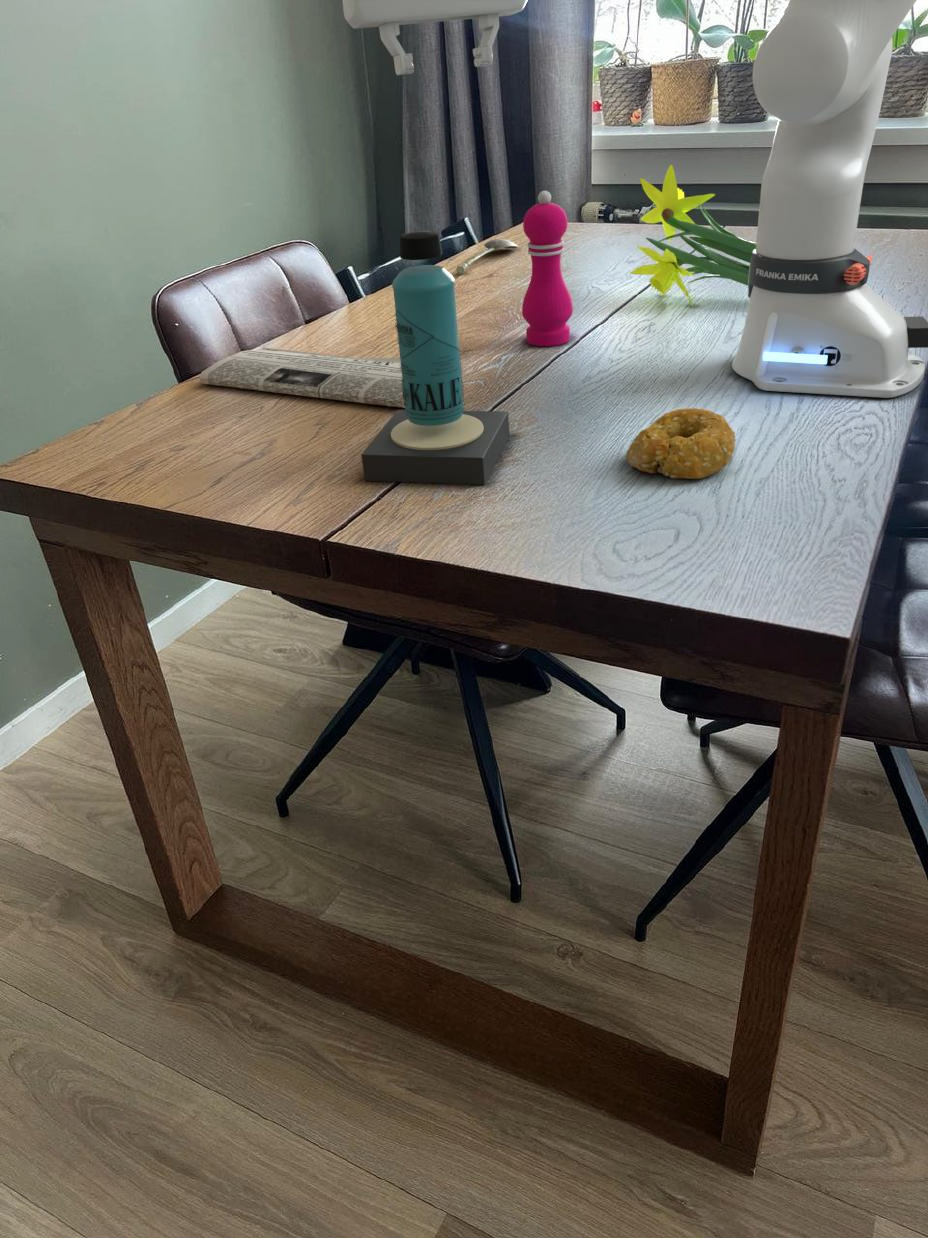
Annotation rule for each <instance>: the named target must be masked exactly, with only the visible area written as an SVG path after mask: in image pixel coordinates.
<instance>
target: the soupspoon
mask: <svg viewBox="0 0 928 1238" xmlns="http://www.w3.org/2000/svg"><path fill="white" fill-rule="evenodd" d="M483 247H485V248H486V249H484V250H483V251H481V252H480V253H478V254H477V255H475V256H474V257H472V258H471V259H470V260H468V261H465V262H464V263H463V264H461V265H457V266H456V268H455V271H456V272H457V274H459V275H460V276H461V275H462V276H463V275H464V274H465V272H466V269H467V268H468V267H469V266H470V265H471V264H472V263H474V262H476V261H478V259H480V258H482V257H483V256H485V255H487V254H490V253H491V252H494V251H497V250H501V249H508V250H510V249H517V248H519V246H518V244H516V243H515V242H513V241H511V240H509V239H505V238H494V239H490V240H489V241H486V242H485V243H484V244H483Z"/></svg>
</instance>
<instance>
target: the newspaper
mask: <svg viewBox="0 0 928 1238" xmlns="http://www.w3.org/2000/svg"><path fill="white" fill-rule="evenodd" d="M460 360H462V358H461V357H460ZM400 363H401V361H400V357H351V356H341V355H331V354H323V353H315V352H308V351H307V352H305V351H297V350H290V349H289V350H288V349H281V348H272V347H262V349H258V350H254V349H251V350H250V349H247V350H241V351H239V352H237V353H234V354H232V355H229V356H227V357H224V358H223V359H220V360H217V361H216V362H215V363H213V364H212V365H210V366H208V367H207V368H206V369H204V370H202V371H201V373H200V375H199V381H200V383H201V384H204V385H213V386H222V387H230V388H237V389H245V390H253V391H254V390H255V391H261V392H262V391H263V392H268V393H269V392H271V393H278V394H286V395H287V394H288V395H293V396H294V395H295V396H302V397H303V396H304V397H311V398H320V399H326V400H327V399H328V400H337V401H343V402H351V403H352V402H353V403H358V404H359V403H360V404H369V405H375V406H376V405H377V406H384V407H394V408H401V409H404V408H405V405H404V402H403V401H405V400H403V394H402V390H403V381H402V370H400V369H401V368H400V366H401V364H400ZM399 365H400V366H399ZM401 384H402V385H401ZM405 409H406V408H405Z"/></svg>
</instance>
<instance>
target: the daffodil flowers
mask: <svg viewBox="0 0 928 1238" xmlns="http://www.w3.org/2000/svg"><path fill="white" fill-rule="evenodd" d="M676 177H677V176H676V174H675V169H674V166H673V164H671V163H670V165H669V166H668V168H667V171H666V173H665V176H664V180H663V182H662V188H661V189H662V191H661V190H659V189H658V188H656V187H655V186H654V185H653V184H652V183H650V182H649V181H647V180H646V179H645V178H642V177H639V180H640V183H641V187H642V190H643V191H644V193H645V194H646V196H647V197H648V198H649V200H651V202H652V203H653V204H654V205H655V206H656V207H653V208H652V209H651V210H649V211H647V212H646V213H645V214H644V215H642V217H640V221H642V222H644V223H647V224H657V223H661V222H662V227H663V231H664V234H665V236H666V237H664V238H662V239H660V240H656V239H653V238H650V237H645V240H647V241H648V242H649V243H651V244H652V245H653V246H655V247H656V248H657V249H659V250H660V251H662V252H663V254H661V253H659V252H658V251H656V250H654V249H652V248H650V247H644V246H639V245H636V247H637V249H639V250H640V251H641V252H642V253H644V254H645V255H646V256H647V257H649V258H650V259H651V260H653V261H654V262H655V263H654V264H644V265H641V266H638V267H636V268H635V269H633V270H632V271H631V272H629V274H630V275H640V276H641V275H642V276H652V277H650V278H649V279H648V283H649V285H651V288H653V289H654V291H656V292H659V293H660V296H661V297H663V296H664V295H665V294H666V293H667V292H668V291H669V290H670V289H671V288H672V287H673V285H674V284H676V285H677V286H678V288H679V289H680V290H681V291H682V293H683V294H685V296H686V298H688V301H689V304H690V305H691V306H692V307H694V304H693V301H692V299H691V296H690V295H689V292H688V289H687V288H686V285H685V283H684V282H683V280H682V278H681V276H683V277H695V275H698V274H703V273H705V274H709V275H703V276H700V277H697V278H694V279H693V280H690V281H688V282H687V284H691V283H693V282H696V281H699V280H703V279H711V278H715V279H716V278H719V279H726V280H731V281H734V282H736V283H739V284H743V285H745V286H747V287H748V276H749V267H750V262H751V256H752V252H753V250H755V249H756V242H754V241H751V240H747V239H743V238H742V237H739V236H737V235H736V234H734V233H733V232H731V231H729V230H727V229H726V228H724V227H722V226H721V225H720V224H719V223H718V222H716V221H715V220H714V219H713V217H711V215H710V214H709V212H708V211H707V210H706V208H705V207H704V206H703V204H704V203H705V202H707V201H709V200H711V199H712V198H713V197H715V196H716V193H707V194H700V195H692V196H687V197H685V191H683V189H682V188H681V189H680V187H678V183H677V178H676ZM697 207H698V208H699V209H700V212H701V214H702V215H703V218H704V219H705V220H706V222H707V224H709V226H710V227H707V226H703V225H701V224H696V223H695V221H694V220H693V219H692V218H691V217H690V216H689V215H688V214H687V212H690V211H692V210H693V209H695V208H697ZM676 230H679V231H682V232H680V233H676ZM675 233H676V234H675ZM690 235H691V236H690ZM687 236H689V237H687ZM678 237H679V238H681V240H682V241H684V242H685V243H686V244H687V245H688V246H690V247H691V248H692V249H693V250H695V251H696V252H698V253H699V254H701V255H702V256H698V255H695V254H692V253H690V252H688V251H685V250H682V249H680V248H677V247H674V246H672V245H669V244H667V243H664V241H666V240H667V242H670V241H671V240H672V239H673V238H678ZM709 248H710V249H709ZM711 249H713V250H716V251H719V252H722V253H724V254H726V255H728V256H731V257H733V258H736V259H738V260H741V261H744V262H746V263H748V264H746V263H743V262H741V261H738V260H736V259H732V258H730V257H728V256H724V255H723V254H720V253H719V252H718V253H717V252H716V251H713V250H711ZM683 265H690V266H691V267H687V268H684V267H682V266H683Z"/></svg>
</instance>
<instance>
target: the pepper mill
mask: <svg viewBox="0 0 928 1238" xmlns="http://www.w3.org/2000/svg"><path fill="white" fill-rule="evenodd" d="M537 201H538V203H537V204H535V205H532V206H531V207H530V208H529V209H528V210H527V211H526V212H525V215H524V216H523V221H522V222H523V223H522V229H523V233H524V235H525V236H526V237H527V238H528V240H529V242H527V247H528V248H527V249H528V250H527V254H528V255H529V256H530V258H531V259H530V260H531V276H530V281H529V284H528V286H527V289H526V292H525V295H524V297H523V301H522V308H521V314H522V317H523V320H525V322H526V323H527V324H528V325H529V326H528V327H527V328H526V329H525V331H526V333H525V335H526V343H527V344H529V345H530V346H535V347H556V346H560V345H563V344H566V343H568V342H569V341H570V339H571V327H570V325H569V324H567V322H568V321H569V320H570V319H571V317H572V315H573V312H574V308H573V307H574V306H573V299H572V296H571V294H570V291H569V289H568V287H567V285H566V282H565V280H564V277H563V274H562V273H563V272H562V266H561V265H562V263H561V258H562V253H564V252H565V248H564V244H565V241H564V240H563V239H562V238H563V236H564V234H565V233H567V229H568V217H567V214H566V211H565V210H564V209H563V208H562V207H561V206H560V205H558V204H556V203H553V202H551V201H552V195H551V193H550V191H547V190H542V191H540V192H539V194H538V195H537Z"/></svg>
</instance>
